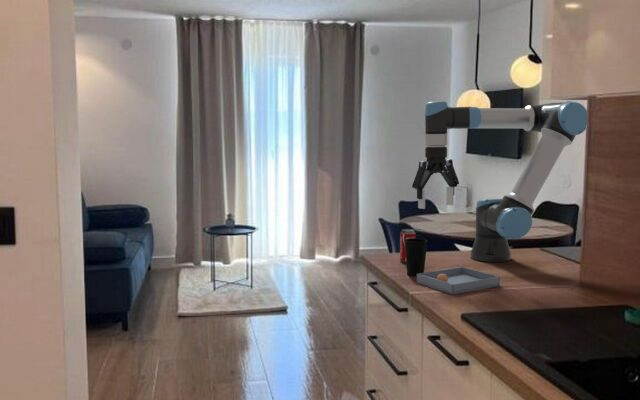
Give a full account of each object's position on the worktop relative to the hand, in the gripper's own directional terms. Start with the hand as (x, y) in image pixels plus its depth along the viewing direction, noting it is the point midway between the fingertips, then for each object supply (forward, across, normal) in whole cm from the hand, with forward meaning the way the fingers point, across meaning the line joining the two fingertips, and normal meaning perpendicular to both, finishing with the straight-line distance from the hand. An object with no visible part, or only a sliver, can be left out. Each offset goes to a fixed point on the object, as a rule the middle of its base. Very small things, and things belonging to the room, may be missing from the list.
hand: (436, 206), depth 225 cm
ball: (+21, +16, +20) cm, 33 cm away
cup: (+22, +12, +2) cm, 26 cm away
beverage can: (+22, 0, -15) cm, 27 cm away
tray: (+22, +10, +20) cm, 32 cm away
